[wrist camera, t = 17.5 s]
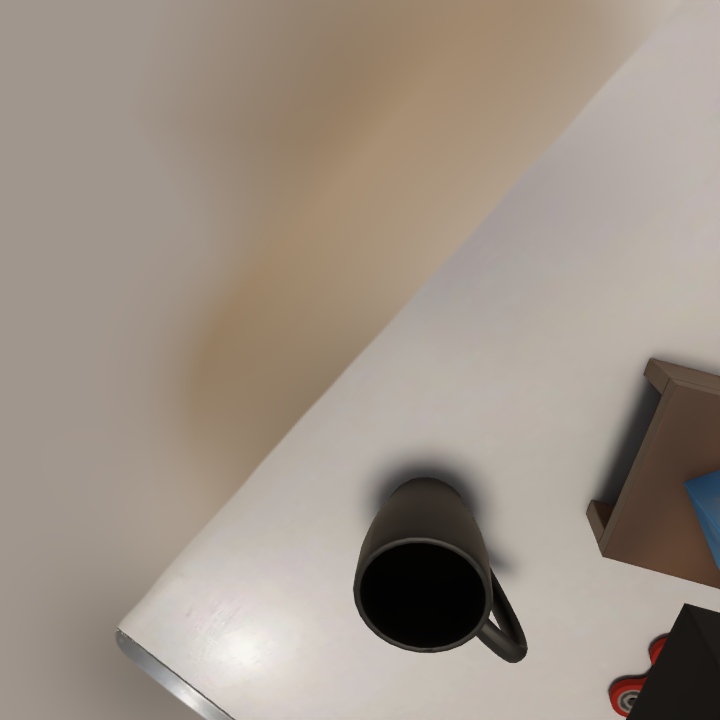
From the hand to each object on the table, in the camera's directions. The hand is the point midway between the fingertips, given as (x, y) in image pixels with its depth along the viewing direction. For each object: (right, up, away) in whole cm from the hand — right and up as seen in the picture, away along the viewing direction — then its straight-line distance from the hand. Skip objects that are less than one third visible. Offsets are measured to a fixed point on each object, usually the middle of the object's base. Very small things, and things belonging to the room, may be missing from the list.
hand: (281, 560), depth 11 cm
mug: (+8, -9, +35) cm, 37 cm away
